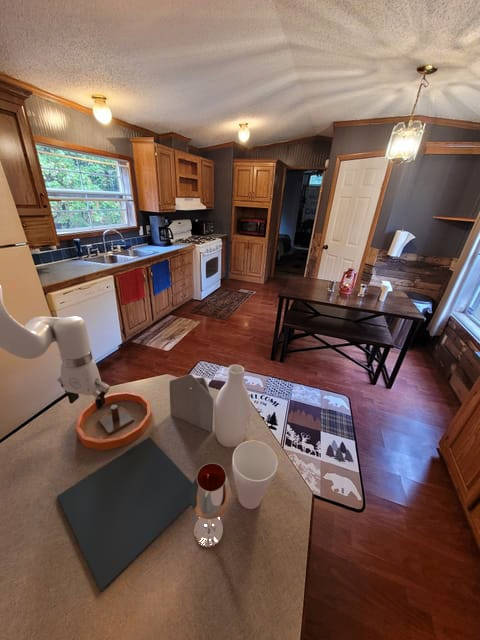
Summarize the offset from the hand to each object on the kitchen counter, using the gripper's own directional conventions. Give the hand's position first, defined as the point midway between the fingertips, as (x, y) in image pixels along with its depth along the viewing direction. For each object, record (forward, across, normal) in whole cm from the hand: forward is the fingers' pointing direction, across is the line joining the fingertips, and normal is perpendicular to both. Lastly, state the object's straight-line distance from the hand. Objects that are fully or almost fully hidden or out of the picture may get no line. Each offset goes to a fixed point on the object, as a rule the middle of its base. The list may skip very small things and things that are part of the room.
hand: (87, 403), depth 81 cm
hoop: (+5, +10, 0) cm, 11 cm away
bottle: (+6, +46, +4) cm, 47 cm away
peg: (+5, +10, 0) cm, 11 cm away
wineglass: (+6, +48, -22) cm, 53 cm away
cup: (+6, +55, -13) cm, 57 cm away
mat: (+5, +27, -20) cm, 34 cm away
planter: (+6, +33, +9) cm, 35 cm away
